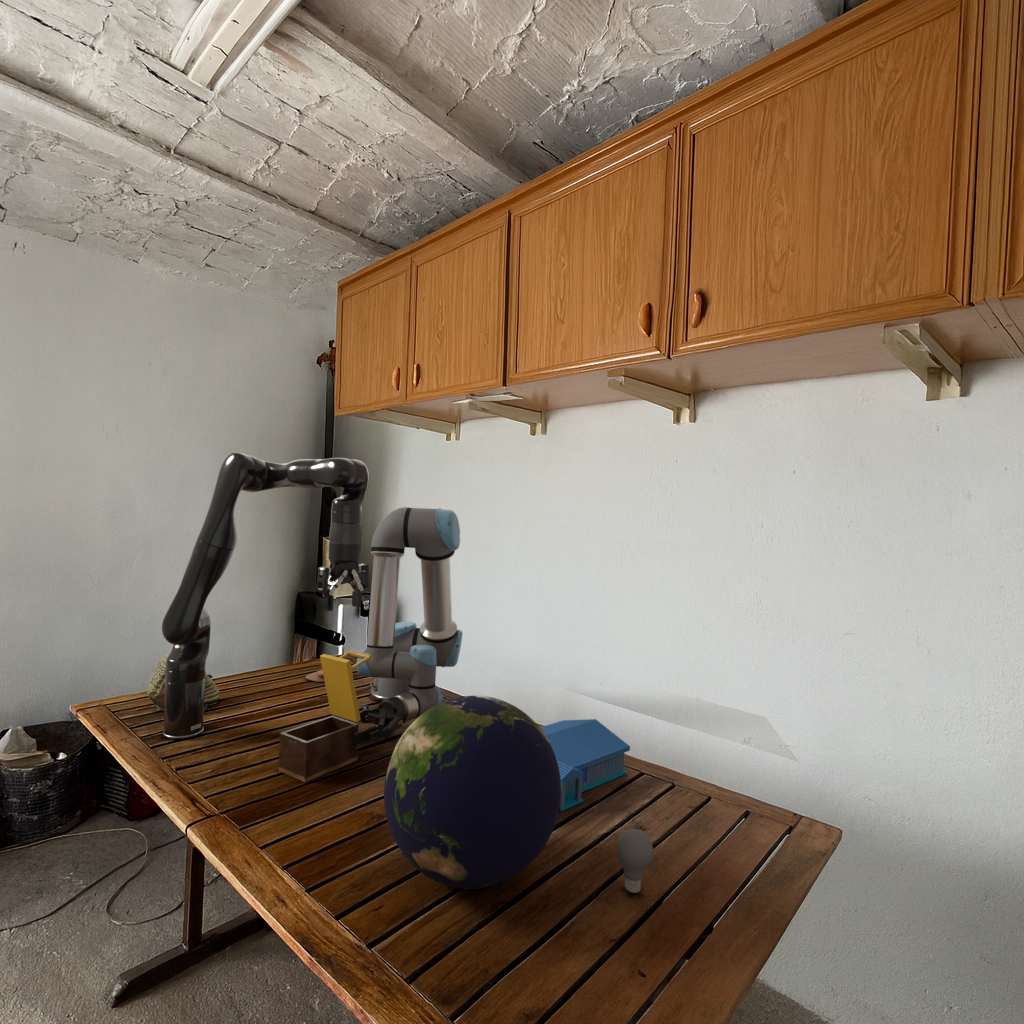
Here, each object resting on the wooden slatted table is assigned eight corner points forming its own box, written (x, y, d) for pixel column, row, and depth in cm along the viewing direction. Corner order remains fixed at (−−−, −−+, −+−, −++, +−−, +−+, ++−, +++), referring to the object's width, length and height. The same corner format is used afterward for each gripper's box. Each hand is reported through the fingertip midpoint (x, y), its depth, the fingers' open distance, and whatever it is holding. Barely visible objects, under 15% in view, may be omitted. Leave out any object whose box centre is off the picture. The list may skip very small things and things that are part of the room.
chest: (305, 782, 140) (306, 743, 140) (278, 770, 145) (279, 732, 145) (357, 760, 153) (358, 724, 153) (331, 750, 158) (332, 715, 158)
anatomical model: (300, 668, 215) (317, 660, 226) (300, 679, 215) (317, 671, 226) (336, 672, 212) (352, 663, 224) (336, 683, 212) (351, 675, 224)
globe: (343, 899, 100) (350, 710, 100) (435, 815, 128) (441, 667, 127) (518, 958, 89) (528, 746, 88) (578, 852, 117) (585, 690, 116)
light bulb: (610, 879, 108) (613, 822, 108) (644, 879, 109) (647, 822, 109) (619, 902, 102) (622, 840, 102) (655, 901, 103) (658, 840, 103)
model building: (516, 830, 123) (519, 779, 123) (442, 785, 141) (444, 740, 141) (638, 777, 150) (640, 735, 149) (562, 745, 168) (564, 707, 167)
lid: (346, 662, 149) (373, 646, 156) (319, 655, 154) (347, 640, 161) (356, 722, 152) (383, 704, 159) (330, 714, 157) (357, 696, 165)
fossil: (144, 707, 182) (145, 655, 182) (212, 696, 194) (213, 647, 194) (151, 716, 175) (153, 662, 175) (221, 703, 188) (223, 653, 188)
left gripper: (332, 543, 145) (329, 614, 145) (377, 541, 156) (375, 607, 157) (310, 541, 149) (308, 610, 149) (356, 539, 161) (354, 603, 161)
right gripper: (432, 735, 164) (371, 761, 146) (364, 713, 178) (301, 735, 160) (433, 706, 164) (373, 729, 146) (365, 687, 178) (302, 706, 160)
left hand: (342, 608), depth 153 cm, fingers open, 8 cm apart
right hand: (335, 732), depth 153 cm, fingers open, 13 cm apart
